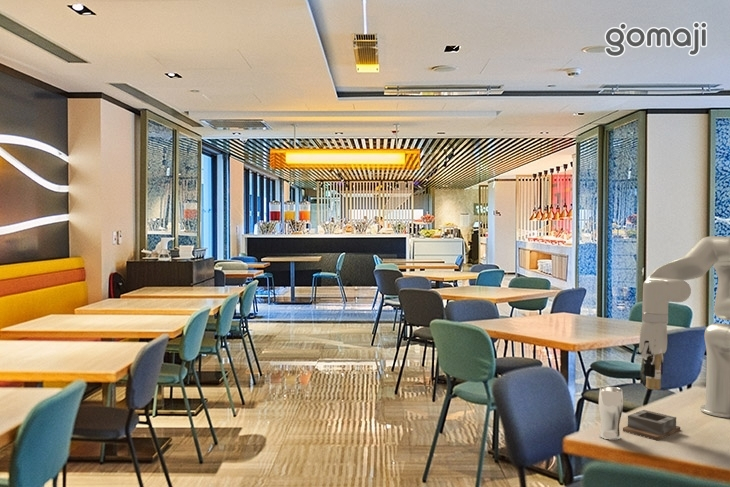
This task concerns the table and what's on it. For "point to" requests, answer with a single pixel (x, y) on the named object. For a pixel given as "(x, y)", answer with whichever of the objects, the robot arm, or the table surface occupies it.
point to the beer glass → (610, 412)
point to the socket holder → (651, 424)
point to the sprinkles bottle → (655, 381)
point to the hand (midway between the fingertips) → (653, 374)
